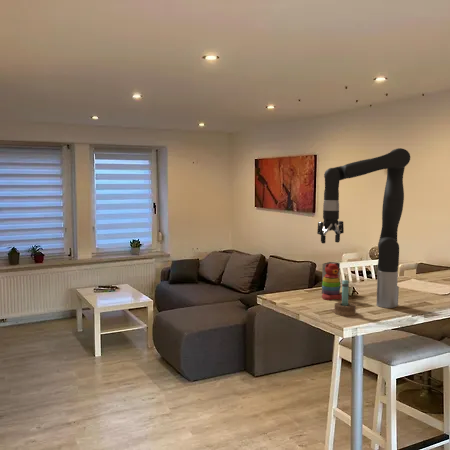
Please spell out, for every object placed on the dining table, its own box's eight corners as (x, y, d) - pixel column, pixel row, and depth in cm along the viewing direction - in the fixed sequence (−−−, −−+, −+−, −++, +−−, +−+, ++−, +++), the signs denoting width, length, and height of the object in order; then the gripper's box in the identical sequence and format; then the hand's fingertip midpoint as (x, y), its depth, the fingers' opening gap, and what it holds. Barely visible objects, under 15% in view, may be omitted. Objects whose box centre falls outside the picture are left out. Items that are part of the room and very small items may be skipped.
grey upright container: (332, 295, 251) (333, 264, 250) (321, 293, 255) (321, 263, 253) (339, 291, 258) (340, 262, 257) (328, 290, 262) (329, 261, 261)
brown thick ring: (345, 309, 222) (345, 301, 222) (359, 314, 214) (359, 305, 214) (330, 312, 218) (330, 303, 218) (344, 317, 210) (344, 308, 210)
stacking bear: (325, 300, 239) (326, 265, 238) (317, 295, 249) (318, 262, 248) (345, 299, 242) (346, 264, 240) (336, 294, 251) (337, 261, 250)
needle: (345, 312, 218) (345, 279, 217) (349, 313, 216) (350, 281, 214) (340, 312, 217) (340, 280, 215) (344, 314, 214) (345, 281, 213)
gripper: (324, 210, 223) (323, 244, 224) (347, 209, 229) (346, 242, 231) (314, 209, 229) (313, 242, 231) (337, 208, 236) (336, 241, 237)
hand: (330, 242), depth 231 cm, fingers open, 8 cm apart
